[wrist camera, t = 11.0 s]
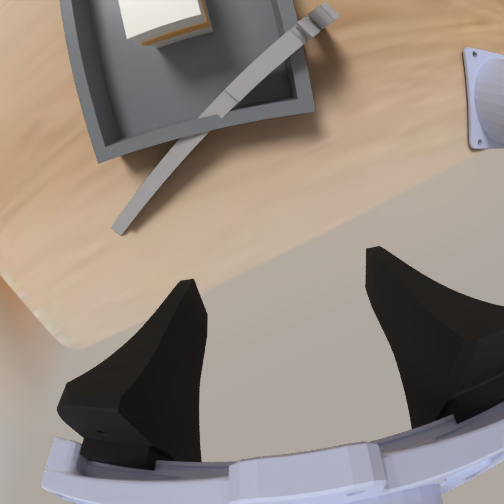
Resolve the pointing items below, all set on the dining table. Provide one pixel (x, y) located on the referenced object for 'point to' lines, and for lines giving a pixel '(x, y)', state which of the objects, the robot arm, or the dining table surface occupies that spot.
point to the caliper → (228, 104)
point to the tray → (178, 73)
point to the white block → (164, 20)
